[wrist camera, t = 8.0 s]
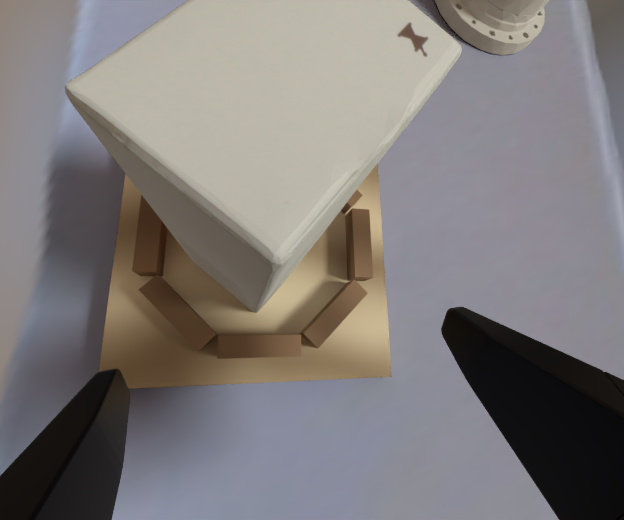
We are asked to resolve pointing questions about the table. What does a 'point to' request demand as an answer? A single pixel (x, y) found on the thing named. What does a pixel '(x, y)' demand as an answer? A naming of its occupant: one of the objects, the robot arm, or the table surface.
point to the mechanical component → (495, 22)
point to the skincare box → (261, 120)
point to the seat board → (241, 320)
